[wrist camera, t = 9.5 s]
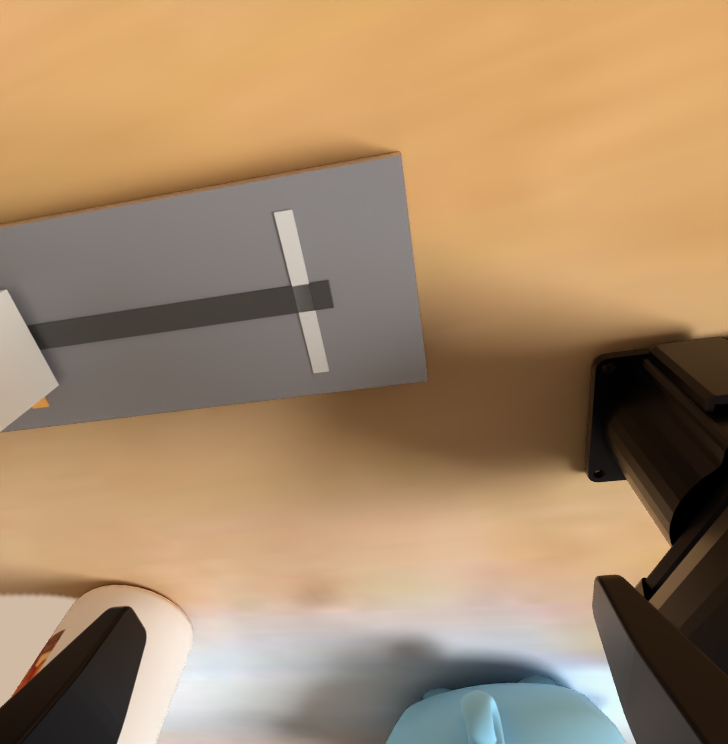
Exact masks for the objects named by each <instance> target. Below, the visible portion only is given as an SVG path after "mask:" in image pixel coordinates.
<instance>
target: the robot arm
mask: <svg viewBox="0 0 728 744" xmlns="http://www.w3.org/2000/svg"><path fill="white" fill-rule="evenodd" d="M606 364H611V365H610V367H609V368H608V369H606V370H602V368H603V366H605V365H606ZM597 470H600V471H599V472H595V471H597ZM585 472H586V474H587V476H588V478H589V479H590V480H591V481H593V482H607V481H618V480H627V481H628V482H629V484H630V485H631V487H632V488H633V490H634V491H635V493H636V494H637V496H638V497H639V499H640V500H641V502H642V503H643V505H644V507H645V508H646V510H647V511H648V513H649V514H650V516H651V517H652V519H653V520H654V522H655V523H656V525H657V526H658V528H659V529H660V531H661V532H662V534H663V535H664V537H665V538H666V540H667V542H668V543H669V545H670V546H671V548H670V550H669V551H668V552H667V553H666V555H665V556H664V557H663V558H662V560H661V561H660V562H659V563H658V565H657V566H656V567H655V568H654V570H653V571H652V572H651V573H650V575H649V576H648V577H647V578H642V579H641V581H640V582H639V583H638V584H637V586H636V587H635V588H634V587H633V586H632V585H631V584H630V583H629V582H627V581H626V580H625V579H624V578H623V577H621V576H619V575H603V576H597V577H596V578H595V581H594V592H593V602H592V608H593V614H594V619H595V622H596V625H597V628H598V632H599V635H600V638H601V641H602V644H603V648H604V651H605V654H606V657H607V661H608V664H609V667H610V670H611V673H612V677H613V680H614V683H615V686H616V690H617V693H618V696H619V699H620V702H621V705H622V708H623V711H624V714H625V717H626V719H627V722H628V724H629V727H630V729H631V732H632V734H633V737H634V739H635V741H636V744H728V339H725V338H723V337H713V338H705V339H697V340H688V341H680V342H672V343H664V344H657V345H655V346H653V347H651V348H649V349H641V350H632V351H624V352H616V353H608V354H603V355H600V356H598V357H597V358H596V359H595V360H594V361H593V364H592V371H591V386H590V401H589V415H588V430H587V445H586V460H585ZM146 639H147V633H146V629H145V627H144V626H143V624H142V623H141V621H140V619H139V618H138V616H137V614H136V613H135V611H134V610H133V608H132V607H130V606H117V607H111V608H109V609H107V610H106V611H105V612H103V613H102V614H101V615H100V616H99V617H98V618H97V619H96V620H95V621H94V622H93V623H91V624H90V625H89V626H88V627H87V628H86V629H85V630H84V631H83V632H82V633H81V634H80V635H78V636H77V637H76V638H75V639H74V640H73V641H72V642H71V643H70V644H69V645H68V646H67V647H65V648H64V649H63V650H62V651H61V652H60V653H59V654H58V655H57V656H56V657H55V658H54V659H52V660H51V661H50V662H49V663H48V664H47V665H46V666H45V667H44V668H43V669H42V670H41V671H39V672H38V673H37V674H36V675H35V676H34V677H33V678H32V679H31V680H30V681H29V682H28V683H26V684H25V685H24V686H23V687H22V688H21V689H20V690H19V691H18V692H17V693H16V694H15V695H13V696H12V697H11V698H10V699H9V700H8V701H7V702H6V703H5V704H4V705H3V706H2V707H1V708H0V744H117V742H118V739H119V736H120V733H121V731H122V728H123V724H124V721H125V718H126V714H127V711H128V707H129V704H130V700H131V696H132V693H133V689H134V685H135V682H136V678H137V674H138V671H139V667H140V663H141V659H142V656H143V652H144V648H145V645H146Z"/></svg>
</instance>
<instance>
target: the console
mask: <svg viewBox="0 0 728 744" xmlns="http://www.w3.org/2000/svg"><path fill="white" fill-rule="evenodd" d="M6 289H7V291H8V293H9V294H10V296H11V298H12V300H13V302H14V304H15V305H16V307H17V309H18V311H19V313H20V315H21V316H22V318H23V320H24V322H25V324H26V326H27V327H28V329H29V331H30V333H31V335H32V337H33V338H34V340H35V342H36V344H37V346H38V347H39V349H40V351H41V353H42V355H43V357H44V358H45V360H46V362H47V364H48V366H49V368H50V369H51V371H52V373H53V375H54V377H55V379H56V380H57V382H58V384H59V386H57V387H56V388H55V389H54V390H52V391H51V392H50V393H49V394H47V395H46V396H45V397H44V398H42V399H41V400H40V401H39V402H37V403H36V404H35V405H34V406H32V407H31V408H30V409H28V410H27V411H26V412H25V413H23V414H22V415H21V416H20V417H18V418H17V419H16V420H15V421H13V422H12V423H11V424H10V425H8V426H7V427H6V428H5V429H3V430H2V431H1V432H8V431H16V430H25V429H33V428H41V427H50V426H58V425H66V424H75V423H83V422H91V421H100V420H108V419H116V418H125V417H133V416H141V415H150V414H158V413H166V412H175V411H183V410H191V409H200V408H208V407H216V406H224V405H233V404H241V403H249V402H258V401H266V400H274V399H283V398H291V397H299V396H308V395H316V394H324V393H333V392H341V391H349V390H358V389H366V388H374V387H383V386H391V385H399V384H408V383H416V382H424V381H428V376H427V367H426V359H425V350H424V342H423V334H422V325H421V317H420V309H419V300H418V292H417V284H416V275H415V267H414V258H413V250H412V242H411V233H410V225H409V217H408V208H407V200H406V192H405V183H404V175H403V166H402V158H401V153H400V152H394V153H389V154H383V155H378V156H372V157H367V158H361V159H356V160H351V161H345V162H340V163H334V164H329V165H323V166H318V167H312V168H307V169H301V170H296V171H290V172H285V173H279V174H274V175H268V176H263V177H258V178H252V179H247V180H241V181H236V182H230V183H225V184H219V185H214V186H208V187H203V188H197V189H192V190H186V191H181V192H175V193H170V194H165V195H159V196H154V197H148V198H143V199H137V200H132V201H126V202H121V203H115V204H110V205H104V206H99V207H93V208H88V209H82V210H77V211H71V212H66V213H61V214H55V215H50V216H44V217H39V218H33V219H28V220H22V221H17V222H11V223H6V224H0V290H6Z"/></svg>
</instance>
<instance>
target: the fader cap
mask: <svg viewBox="0 0 728 744" xmlns="http://www.w3.org/2000/svg"><path fill="white" fill-rule="evenodd" d="M57 386H59V384H58V382H57V380H56V379H55V377H54V375H53V373H52V371H51V369H50V368H49V366H48V364H47V362H46V360H45V358H44V357H43V355H42V353H41V351H40V349H39V347H38V346H37V344H36V342H35V340H34V338H33V337H32V335H31V333H30V331H29V329H28V327H27V326H26V324H25V322H24V320H23V318H22V316H21V315H20V313H19V311H18V309H17V307H16V305H15V304H14V302H13V300H12V298H11V296H10V294H9V293H8V291H7V289H6V290H0V432H1V431H2V430H3V429H5V428H6V427H7V426H8V425H10V424H11V423H12V422H13V421H15V420H16V419H17V418H18V417H20V416H21V415H22V414H23V413H25V412H26V411H27V410H28V409H30V408H31V407H32V406H34V405H35V404H36V403H37V402H39V401H40V400H41V399H42V398H44V397H45V396H46V395H47V394H49V393H50V392H51V391H52V390H54V389H55V388H56V387H57Z"/></svg>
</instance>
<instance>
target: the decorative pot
mask: <svg viewBox="0 0 728 744" xmlns="http://www.w3.org/2000/svg"><path fill="white" fill-rule="evenodd" d="M386 744H627V743H626V741H625V739H624V738H623V736H622V735H621V733H620V731H619V730H618V728H617V727H616V726H615V724H614V723H613V722H612V721H611V720H610V719H609V718H608V717H607V716H606V715H605V714H604V713H603V712H602V711H601V710H600V709H599V708H598V707H597V706H595V705H594V704H593V703H592V702H591V701H590V700H589V699H587V698H586V697H585V696H584V695H583V694H581V693H579V692H577V691H575V690H572V689H569V688H566V687H561V686H557V685H556V684H555V682H554V681H553V680H551V679H550V678H547V677H543V676H532V677H527V678H524V679H522V680H521V681H519V682H518V683H497V684H486V685H478V686H471V687H465V688H461V689H456V690H450V689H444V688H439V689H433V690H430V691H428V692H426V693H425V694H424V695H423V700H421V701H419V702H417V703H415V704H413V705H411V706H410V707H408V708H407V709H406V710H405V711H404V712H403V714H402V716H401V717H400V719H399V720H398V722H397V723H396V725H395V727H394V728H393V730H392V732H391V734H390V736H389V738H388V740H387V742H386Z"/></svg>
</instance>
